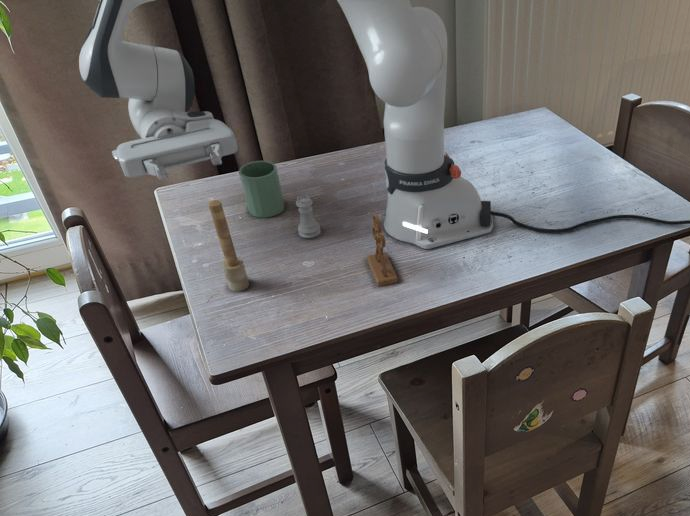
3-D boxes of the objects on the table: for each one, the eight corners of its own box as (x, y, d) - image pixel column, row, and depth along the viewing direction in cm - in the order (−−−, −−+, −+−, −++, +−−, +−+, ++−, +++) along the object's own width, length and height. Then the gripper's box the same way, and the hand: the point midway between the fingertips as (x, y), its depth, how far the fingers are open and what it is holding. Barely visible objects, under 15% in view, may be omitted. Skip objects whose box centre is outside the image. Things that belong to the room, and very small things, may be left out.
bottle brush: (249, 278, 117) (226, 196, 105) (249, 289, 115) (226, 207, 103) (228, 281, 116) (203, 199, 105) (228, 292, 114) (202, 210, 102)
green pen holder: (283, 197, 138) (275, 158, 132) (285, 214, 133) (277, 175, 127) (248, 201, 137) (238, 162, 130) (249, 219, 131) (239, 180, 125)
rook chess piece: (299, 240, 126) (292, 205, 121) (298, 228, 129) (291, 193, 124) (321, 238, 127) (315, 202, 121) (320, 226, 130) (314, 191, 124)
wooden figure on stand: (366, 259, 122) (359, 204, 113) (386, 255, 123) (381, 200, 114) (377, 286, 116) (371, 230, 107) (398, 282, 117) (393, 226, 108)
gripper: (103, 133, 112) (120, 165, 104) (218, 109, 120) (242, 137, 112) (116, 166, 116) (134, 199, 108) (226, 140, 125) (250, 169, 117)
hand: (190, 167), depth 110 cm, fingers open, 8 cm apart
